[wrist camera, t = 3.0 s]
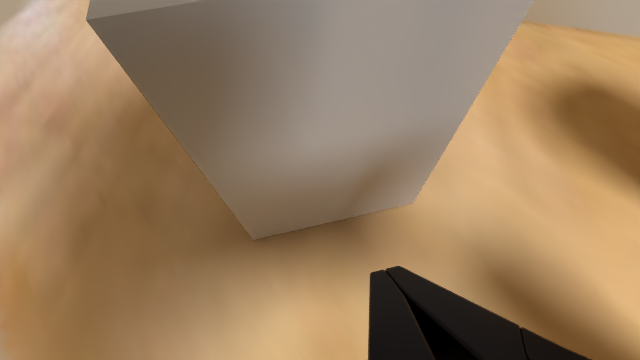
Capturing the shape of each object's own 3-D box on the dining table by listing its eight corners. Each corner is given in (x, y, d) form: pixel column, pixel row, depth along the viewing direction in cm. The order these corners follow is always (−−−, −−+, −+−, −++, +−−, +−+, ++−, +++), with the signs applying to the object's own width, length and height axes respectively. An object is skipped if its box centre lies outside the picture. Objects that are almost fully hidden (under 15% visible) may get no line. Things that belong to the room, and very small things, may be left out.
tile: (412, 203, 19) (569, -60, 6) (253, 240, 18) (85, 19, 6) (398, 168, 20) (508, -110, 8) (248, 201, 19) (101, -50, 7)
